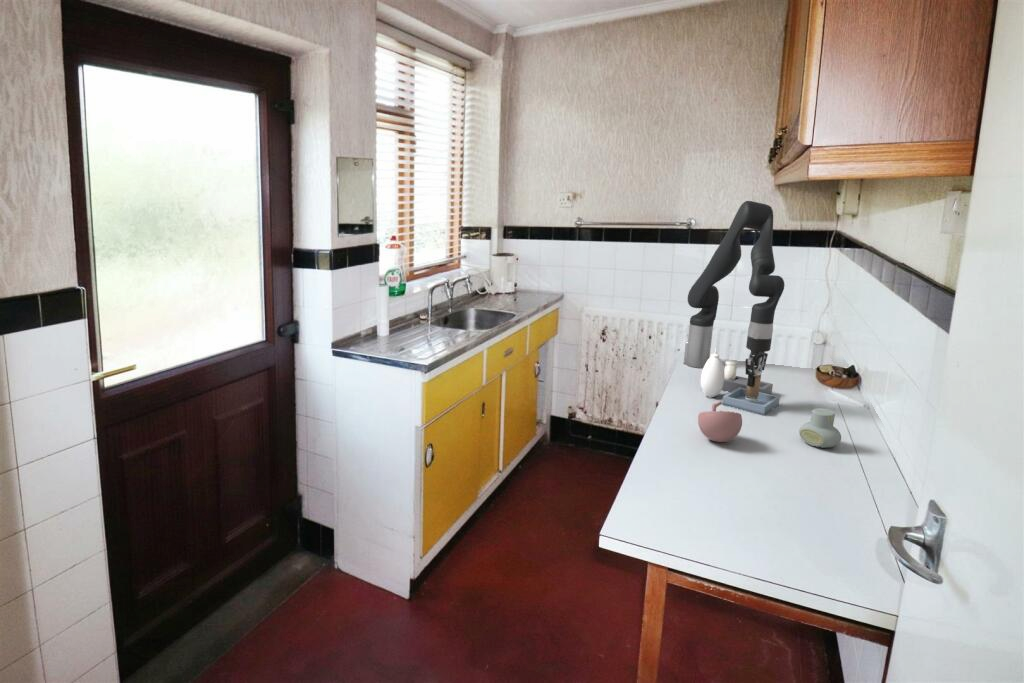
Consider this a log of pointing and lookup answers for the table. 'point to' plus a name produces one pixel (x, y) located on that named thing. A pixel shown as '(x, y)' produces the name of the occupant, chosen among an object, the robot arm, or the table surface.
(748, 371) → the robot arm
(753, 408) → the parts tray
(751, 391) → the cylinder
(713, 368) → the sauce bottle
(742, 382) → the block
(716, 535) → the table surface
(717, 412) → the mortar and pestle
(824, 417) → the air freshener
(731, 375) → the cylinder
